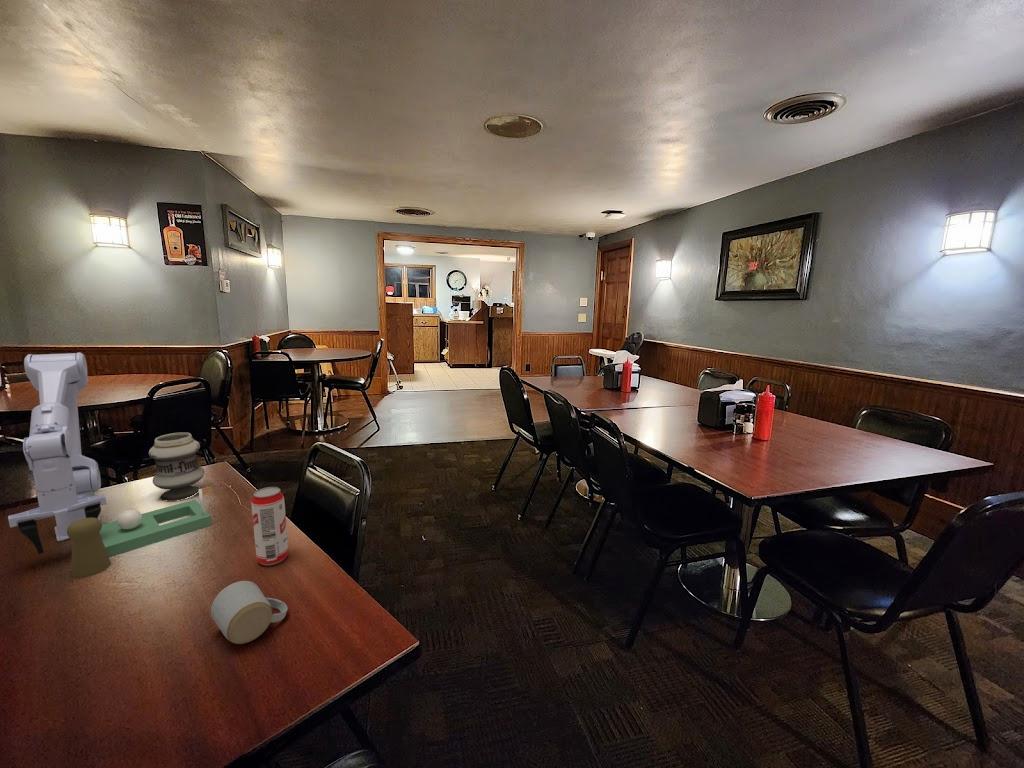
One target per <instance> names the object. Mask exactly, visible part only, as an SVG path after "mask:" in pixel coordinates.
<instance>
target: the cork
mask: <svg viewBox="0 0 1024 768" xmlns="http://www.w3.org/2000/svg"><path fill="white" fill-rule="evenodd" d="M100 520H101V519H100ZM100 520H99V519H98V518H85V519H81V520H78V521H75V522H73V523H72V524H70V525H69V527H68V528H67V535H68V537H69V538H70V539H69V540H71V573H70V574H71V576H72V577H73V578H87V577H90V576H93V575H97V574H99V573H101V572H103V571H104V570H106V569H108V568H109V567H110V566H111V565H112V563H111V559H110V557H108V554H107V551H106V549H105V546H104V543H103V541H102V538H101V535H100V533H99V532H100V530H101V529H102V524H103V523H102V521H100Z"/></svg>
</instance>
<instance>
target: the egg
mask: <svg viewBox="0 0 1024 768" xmlns="http://www.w3.org/2000/svg"><path fill="white" fill-rule="evenodd" d="M141 514H142V513H141V512H140V511H139V510H137V509H136V510H135V509H130V510H129V509H128V510H125V511H122V512H121V513H120V514H119V516H118V517H117V520H116V521H117V524H118V526H119V527H120V528H122V529H125V530H129V529H133V528H135V527H137V526H138V525H139V524H140V523H141V521H142V515H141Z"/></svg>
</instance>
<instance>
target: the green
mask: <svg viewBox="0 0 1024 768" xmlns="http://www.w3.org/2000/svg"><path fill="white" fill-rule="evenodd" d="M204 511H205V515H203V516H202V515H201V506H200V502H198V500H196V499H192V500H189V501H185V502H181V503H177V504H174V505H173V504H172V505H169V506H166V507H163V508H159V509H155V510H151V511H147V512H145V513H141V515H142V521H141V523H140V524H139V525H138V526H137V527H135V528H133V529H129V530H125V529H122V528H120V527H119V526H118V524H117V520H113V521H110V522H107V523H102V529H101V530H100V532H99V533H100V535H101V538H102V541H103V543H104V546H105V549H106V551H107V554H108V557H109V558H111V557H114V556H117V555H121V554H124V553H126V552H130V551H133V550H136V549H139V548H142V547H146V546H149V545H153V544H155V543H159V542H161V541H165V540H168V539H171V538H173V537H177V536H178V537H179V536H181V535H185V534H188V533H190V532H194V531H197V530H201V529H203V528H206V527H210V526H212V525H213V524H212V517H211V515H210V514H209V512H208V511H207V510H206V509H205V508H204ZM189 514H190V515H191V516H190V515H189ZM188 515H189V516H188ZM185 516H188V517H185ZM182 517H183V518H182ZM180 518H181V519H180ZM176 519H178V520H176ZM172 520H174V521H172ZM168 521H169V522H168ZM170 521H172V522H170ZM165 522H166V523H165ZM167 522H168V523H167ZM162 523H163V524H162Z"/></svg>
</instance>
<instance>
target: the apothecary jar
mask: <svg viewBox="0 0 1024 768" xmlns="http://www.w3.org/2000/svg"><path fill="white" fill-rule="evenodd" d="M200 449H201V445H200V442H199V441H197V440H196V439H194V438H193V436H192V434H191V433H190V432H187V431H186V432H180V431H179V432H173V433H167V434H164V435H162V434H161V435H160V436H158V437H155V439H154V443H153V445H152V447H150V449H149V451H148V456H149V457H150V458H151V459H153V460H155V461H154V463H155V468H156V473H155V474H154V476H153V478H152V484H153V485H154V486H155V487H156V488H158V489H161V490H166V491H165V492H163V493H162V494H161V495H160V496H159V499H160V501H166V500H167V501H166V502H169V501H171V502H178V501H177V500H180V501H182V500H181V499H185V498H187V497H190V496H192V495H194V494H195V493H197V492H198V491H199V490H198V489H200V488H201V487H200V486H198V487H197V485H195V484H196V483H198V482H199V481H201V480H202V478H203V477H204V475H205V469H204V468H203V467H202V466H201V465H199V463H198V457H197V452H199V450H200ZM199 487H200V488H199ZM185 500H186V499H185Z"/></svg>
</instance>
